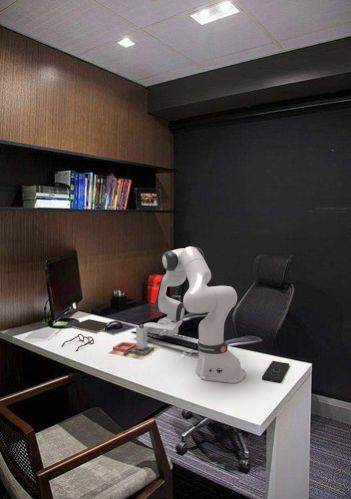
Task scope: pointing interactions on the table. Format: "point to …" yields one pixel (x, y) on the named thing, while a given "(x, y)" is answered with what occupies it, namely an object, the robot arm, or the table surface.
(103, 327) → the hardcover book
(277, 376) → the smart home device
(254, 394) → the table surface
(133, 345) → the socket
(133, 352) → the flat brown board
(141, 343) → the lock bolt
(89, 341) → the glasses
